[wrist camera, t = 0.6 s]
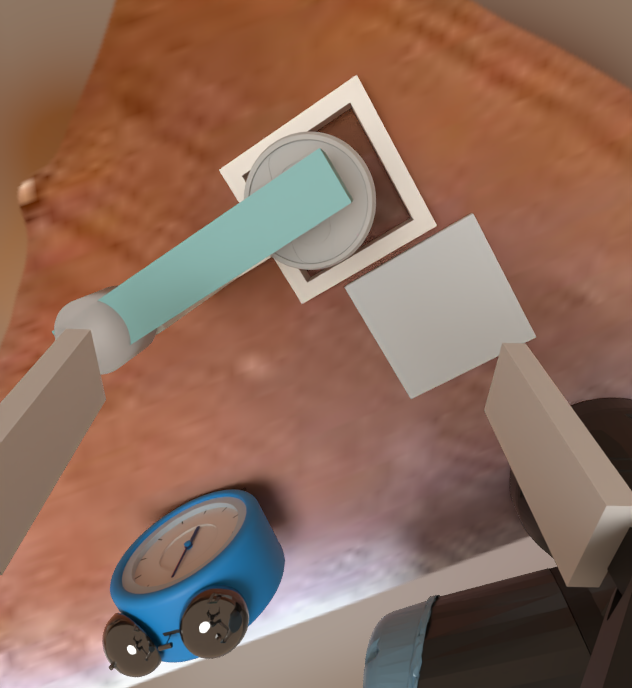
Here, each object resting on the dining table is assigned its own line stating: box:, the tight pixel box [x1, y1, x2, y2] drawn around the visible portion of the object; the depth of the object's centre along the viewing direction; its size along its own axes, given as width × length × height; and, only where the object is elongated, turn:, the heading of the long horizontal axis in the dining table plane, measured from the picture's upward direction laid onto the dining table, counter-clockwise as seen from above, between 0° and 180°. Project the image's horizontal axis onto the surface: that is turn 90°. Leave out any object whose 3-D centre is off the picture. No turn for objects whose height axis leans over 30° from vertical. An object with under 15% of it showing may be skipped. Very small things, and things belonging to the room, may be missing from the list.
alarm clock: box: [102, 488, 285, 677], centre depth 41 cm, size 13×6×15 cm, turn 113°
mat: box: [345, 213, 536, 399], centre depth 39 cm, size 11×11×1 cm
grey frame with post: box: [156, 75, 437, 335], centre depth 31 cm, size 11×18×16 cm, turn 121°
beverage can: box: [244, 132, 376, 270], centre depth 31 cm, size 6×7×15 cm
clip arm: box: [52, 148, 354, 374], centre depth 23 cm, size 4×15×3 cm, turn 122°
